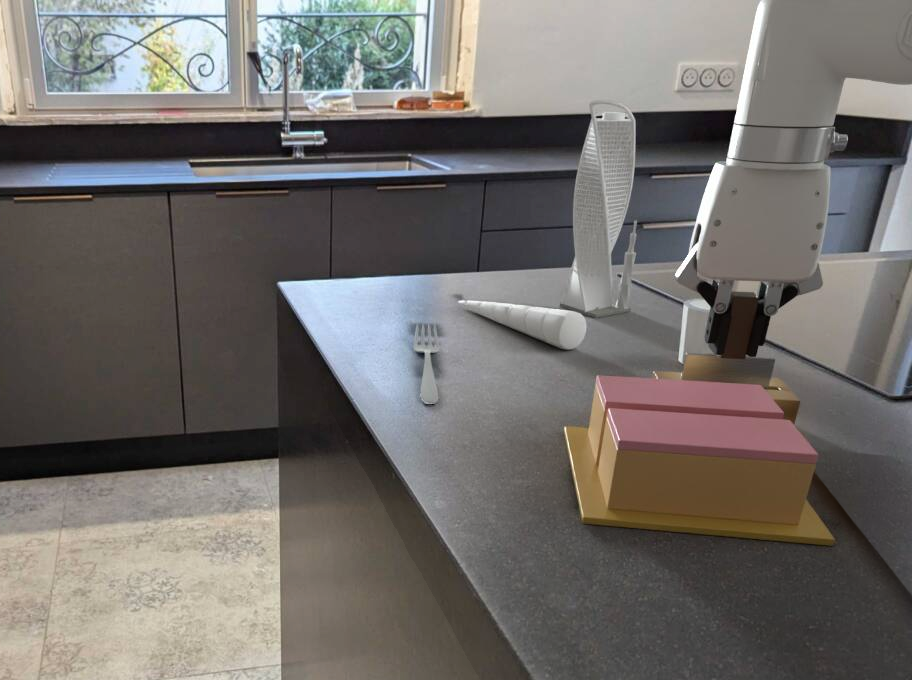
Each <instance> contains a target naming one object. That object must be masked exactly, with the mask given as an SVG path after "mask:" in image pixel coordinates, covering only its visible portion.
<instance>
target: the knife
mask: <svg viewBox="0 0 912 680" xmlns="http://www.w3.org/2000/svg"><path fill="white" fill-rule="evenodd" d="M758 302H759V297H758V296H757V293H755V292H753V291H735V290H734V291H733V290H732V292H731V296H730V300H729V304H728V306H729V311H728V313H729V314H730V315H731V316H732V319H731V323H730V328H729V332H728V337H727V341H726V346H725V350H724V354H721V355H715V354H698V353H686V354H685V359H684V364H682V370H681V372H682V374H681V379H680V380H687V381H704V382H720V383H737V384H754V385H761V386H762V387H763V388H764V389H767V390H768V388H769V384H770V380H771V378H772V375H773V372H774V367H775V364H776V358H775V357H771V356H770V357H769V356H756V357H749V356H748V355H746V353H747V349H748V344H749V340H750V336H751V331H752V327H753V323H754V319H755V315H756V311H757V307H758Z"/></svg>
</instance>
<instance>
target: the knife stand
mask: <svg viewBox="0 0 912 680" xmlns="http://www.w3.org/2000/svg"><path fill="white" fill-rule="evenodd" d="M681 374H682V371H681V372H679V371H664V370H653V372H652V376H651V378H653V379H670V380H680V379H681ZM765 391H766V392H767V393H768V394H769V395H770V397H771V398H772V399H773V400H774V401H775V403H776V404H777V405H778V406H779V407H780V409H781V410H782V411H783V412H784V416H783V420H790V421H791V422H792V423H793V424H794V425H795V423H796V420H797V417H798V413H799V410H800V405H801V403H802V402H801V399H800V398H799V397H798V396H797V395H796V394H795V392H793V390H792V389H791V388H790V387H789V386H788V385H787V384H786V383H785V382H784V381H783V379H782V378H780V377H771V380H770V384H769V388H768V390H767V389H765Z"/></svg>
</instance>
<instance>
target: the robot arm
mask: <svg viewBox="0 0 912 680" xmlns="http://www.w3.org/2000/svg"><path fill="white" fill-rule="evenodd" d="M846 79H855V80H866V81H871V82H877V83H884V84H891V85H899V86H901V85H902V86H906V85H908V86H910V85H912V0H760V1H759V3H758V5H757V8H756V12H755V16H754V22H753V26H752V31H751V36H750V41H749V47H748V51H747V56H746V61H745V66H744V70H743V76H742V81H741V86H740V90H739V97H738V101H737V105H736V111H735V112H736V113H735V115H734V121H733V125H732V131H731V135H730V141H729V146H728V151H727V155H726V161H725V160H723V161H716V162H715V164H714V166H713V168H712V171H711V173H710V174H709V178H708V181H707V184H706V186H705V190H704V193H703V195H702V198H701V203H700V206H699V208H698V212H697V215H696V220H695V224H694V227H693V231H692V233H691V234H692V235H691V239H690V243H689V247H688V255H687V256H686V257H685V259H684V260H683V262H682V264H681V265H680V267H679V268H678V269H677V271H676V273H675V274H674V279H675V281H676V282H677V283H678V284H679V285H681V286H683V287H685V288H687V289H688V290H691V291H693V292H695V293H697V294H699V296H701V298H703V299H704V300H705V301H706V302H707V303H708V305H709V306H710V312H709V317H708V321H707V326H706V331H705V337H704V339H705V342H706V343H708V346H709V348H710V349H711V350H712V352H713V353H714V354H715V355H721V354H724V350H725V346H726V341H727V337H728V332H729V328H730V323H731V319H732V316H731V315H730V314H729V313H728V311H729V306H728V304H729V300H730V296H731V292H732V291H733V287H734V285H735V281H738V282H739V281H741V282H742V281H743V282H759V283H758V288H757V291H756V292H757V293H756V295H757V296H758V297H759V302H758V307H757V311H756V315H755V319H754V323H753V327H752V331H751V336H750V340H749V344H748V349H747V353H746V356H749V357H757V355H758V351H759V347H763V346H764V345H765V342H766V338H767V334H768V329H769V327H770V326H769V325H770V322H771V318H772V317H773V316H775V315H776V314H777V313H778V312H779V310H780V309H781V308H783V307H784V306H785V305H786V304H787V303H789V302H791V301H792V300H793V299H795V298H796V297H798V296H802V295H805V294H806V295H807V294H809V293H811V292H814V291H818V290H820V289H822V287H823V286H824V281H823V276H822V271H821V267H820V263H819V260H820V257H821V253H822V248H823V244H824V238H825V233H826V228H827V221H828V215H829V214H828V213H829V207H830V206H829V205H830V195H831V193H830V192H831V166H829V165H827V164H825V160H828V157H829V155H830V154H831V153H834V152H835V151H840V152H841V151H844V150H846V148H847V145H848V140H849V137H848V134H845V133H839V132H836V131H835V130H836V127H835V126H834V123H835V119H836V116H837V112H838V108H839V104H840V99H841V96H842V91H843V88H844V84H845V80H846ZM698 274H699V275H700V276H702V277H700V276H699V275H698ZM703 277H704V278H703ZM705 278H707V279H711V281H710V282H709V281H708V280H707V279H705Z"/></svg>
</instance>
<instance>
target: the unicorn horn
mask: <svg viewBox="0 0 912 680" xmlns="http://www.w3.org/2000/svg"><path fill="white" fill-rule="evenodd" d="M458 304H459V305H460V306H462V307H464V308H466V309H468V310H470V311H472V312H473V313H475V314H478V315H480V316H483V317H485V318H487V319H489V320H491V321H493V322H496V323H498V324H500V325H503V326H505V327H508V328H510V329H513V330H515V331H518V332H520V333H521V334H525V335H527V336H530V337H532V338H535V339H537V340H538V341H542V342H544V343H547V344H549V345H551V346H553V347H556V348H558V349H560V350H561V349H562V350H565V351H571V350H574V349H576V348H577V347H579V346H580V345H581V344H582V342H583V341H584V339H585V336H586V333H587V321H586V318H585V316H584V314H582V313H579V312H576V311H573V310H569V309H558V308H550V307H549V308H548V307H543V306H542V307H540V306H532V305H525V304H514V303H505V302H495V301H486V300H485V301H481V300H458Z"/></svg>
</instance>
